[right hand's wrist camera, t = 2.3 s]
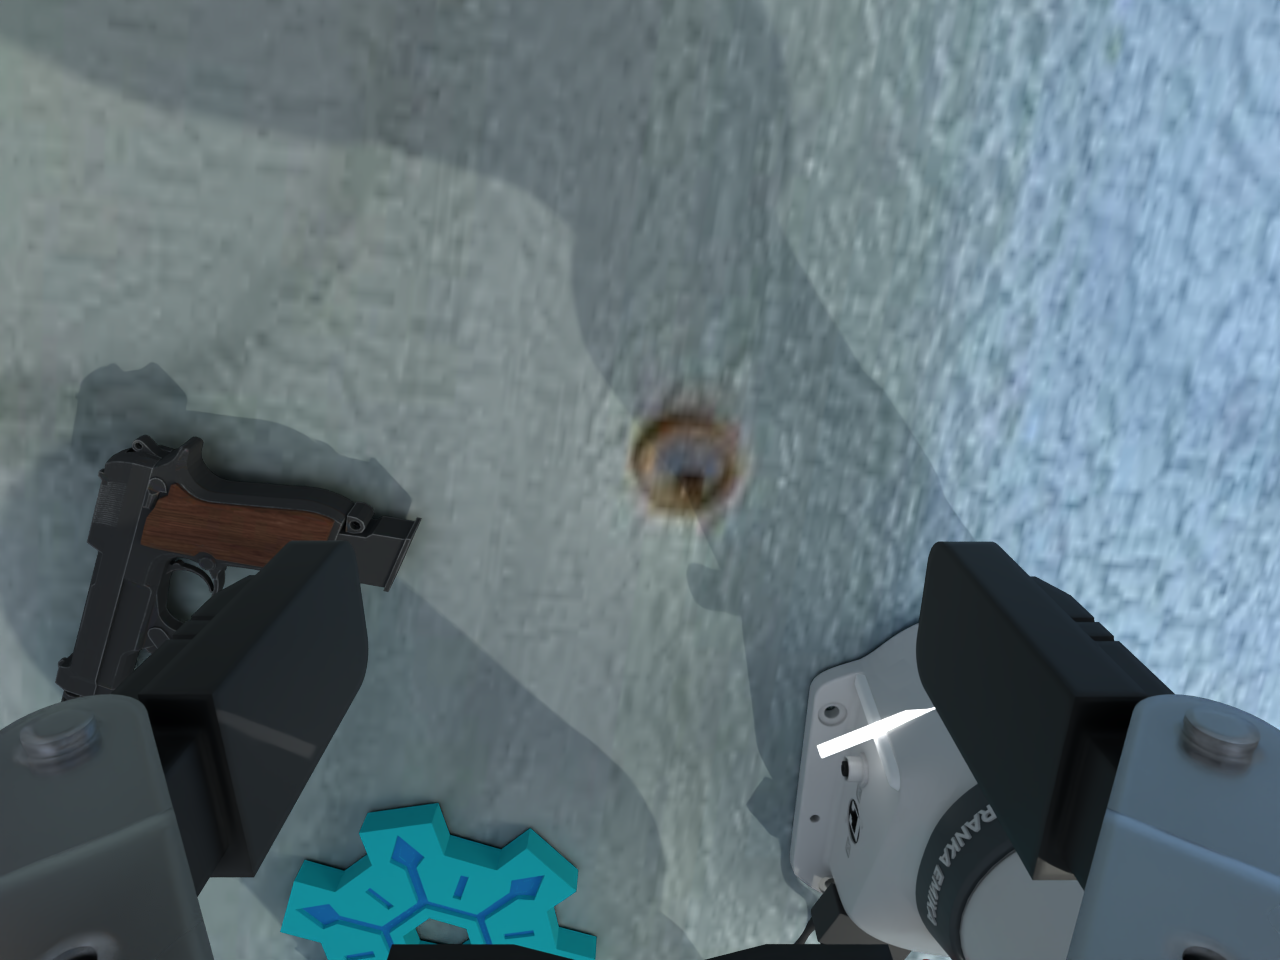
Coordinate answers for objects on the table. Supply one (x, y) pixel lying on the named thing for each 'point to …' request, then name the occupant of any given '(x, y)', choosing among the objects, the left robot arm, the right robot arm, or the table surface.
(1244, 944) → the right robot arm
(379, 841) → the decorative ornament
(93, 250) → the table surface
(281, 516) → the handgun
